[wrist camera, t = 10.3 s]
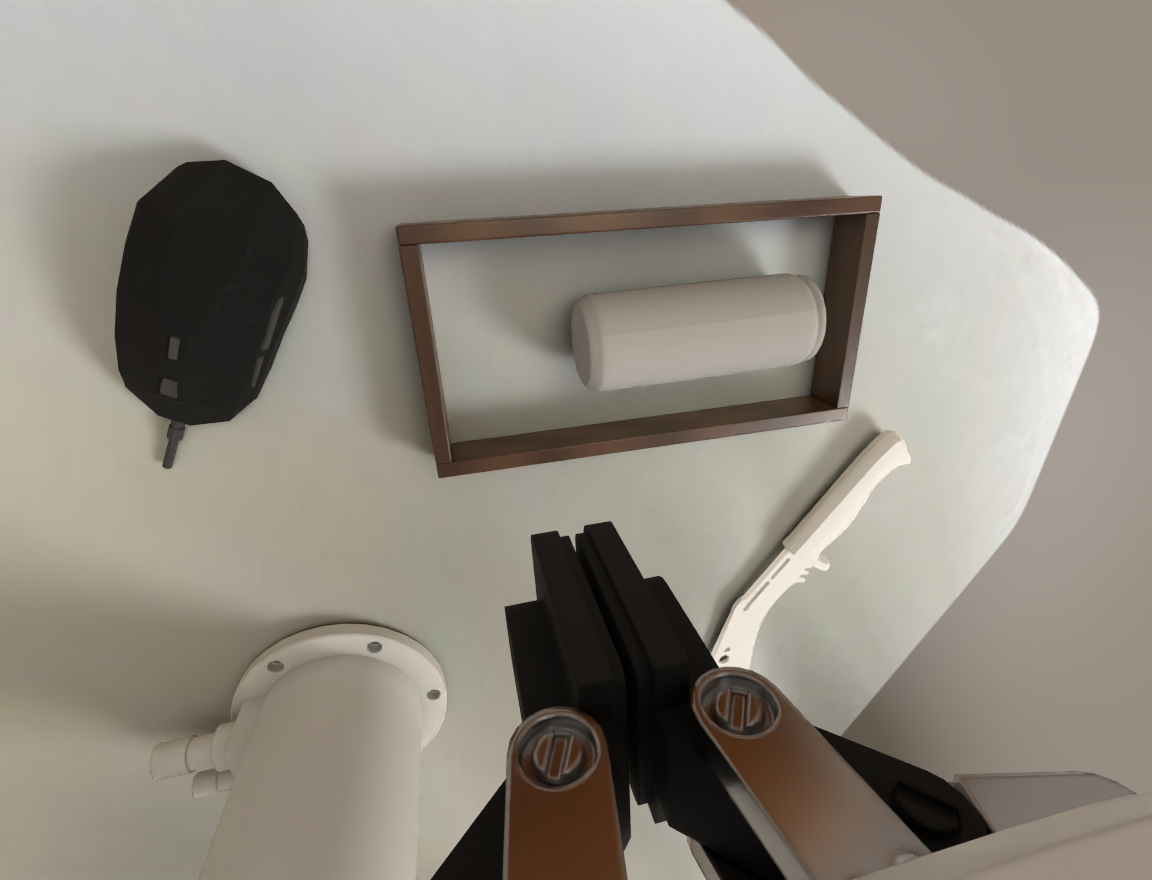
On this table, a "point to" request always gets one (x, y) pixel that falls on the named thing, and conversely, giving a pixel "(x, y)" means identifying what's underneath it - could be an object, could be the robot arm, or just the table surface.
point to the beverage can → (696, 330)
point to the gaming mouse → (206, 293)
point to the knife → (808, 545)
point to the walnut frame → (825, 405)
